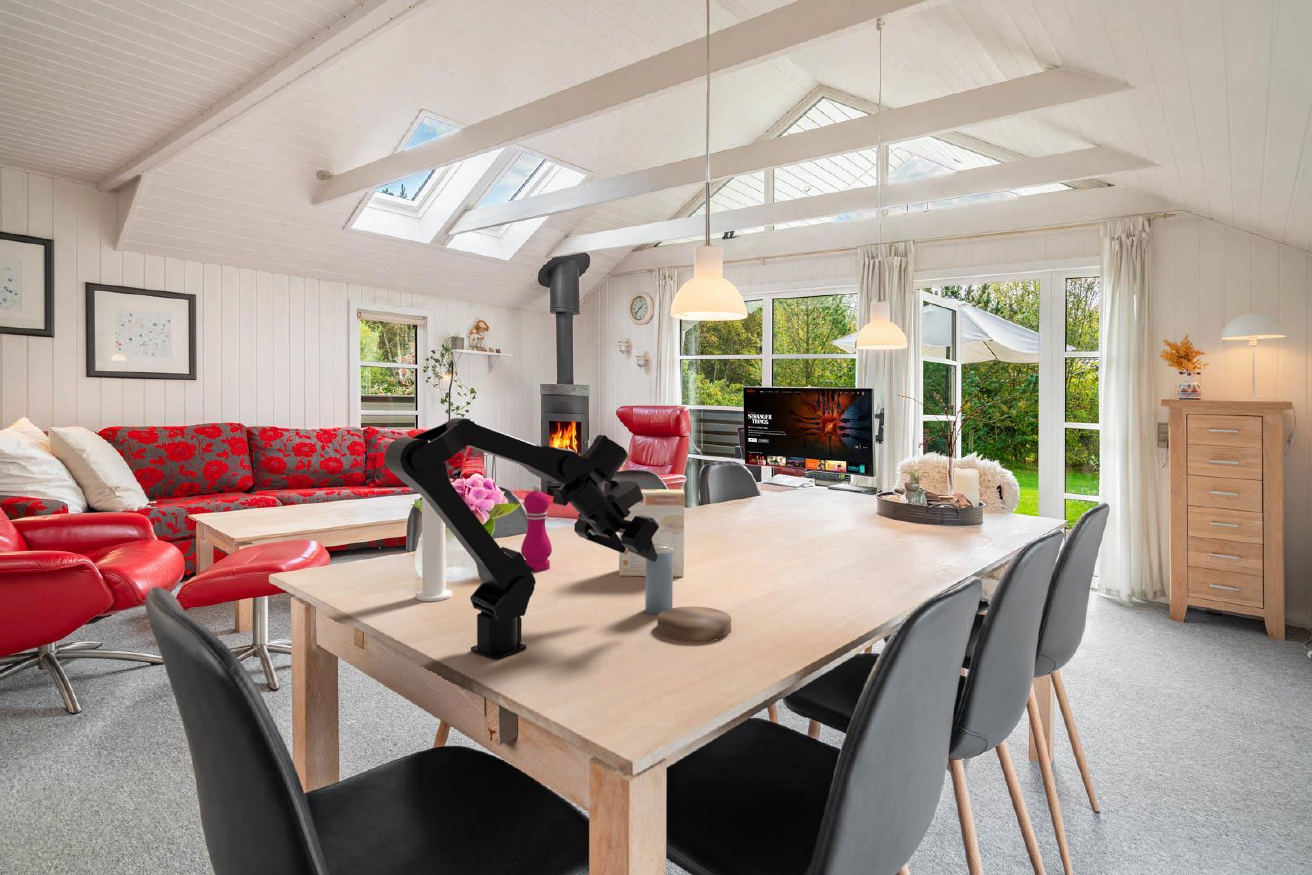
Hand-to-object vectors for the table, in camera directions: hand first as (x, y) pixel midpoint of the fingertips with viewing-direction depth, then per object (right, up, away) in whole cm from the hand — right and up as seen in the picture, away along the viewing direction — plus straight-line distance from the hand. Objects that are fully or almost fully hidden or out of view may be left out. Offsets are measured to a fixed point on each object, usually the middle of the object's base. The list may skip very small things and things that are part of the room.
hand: (639, 555), depth 131 cm
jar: (+4, -11, +4) cm, 13 cm away
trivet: (+10, -12, -7) cm, 17 cm away
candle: (-42, -11, +12) cm, 45 cm away
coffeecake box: (+2, -10, +33) cm, 35 cm away
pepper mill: (-25, -9, +37) cm, 46 cm away
